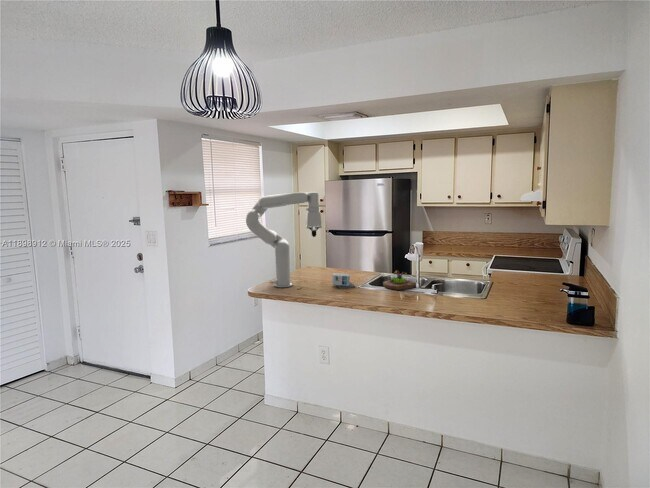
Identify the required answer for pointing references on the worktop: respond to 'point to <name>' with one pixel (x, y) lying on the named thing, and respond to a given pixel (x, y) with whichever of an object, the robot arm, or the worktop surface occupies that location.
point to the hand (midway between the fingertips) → (314, 236)
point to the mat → (346, 286)
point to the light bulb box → (340, 279)
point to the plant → (399, 282)
